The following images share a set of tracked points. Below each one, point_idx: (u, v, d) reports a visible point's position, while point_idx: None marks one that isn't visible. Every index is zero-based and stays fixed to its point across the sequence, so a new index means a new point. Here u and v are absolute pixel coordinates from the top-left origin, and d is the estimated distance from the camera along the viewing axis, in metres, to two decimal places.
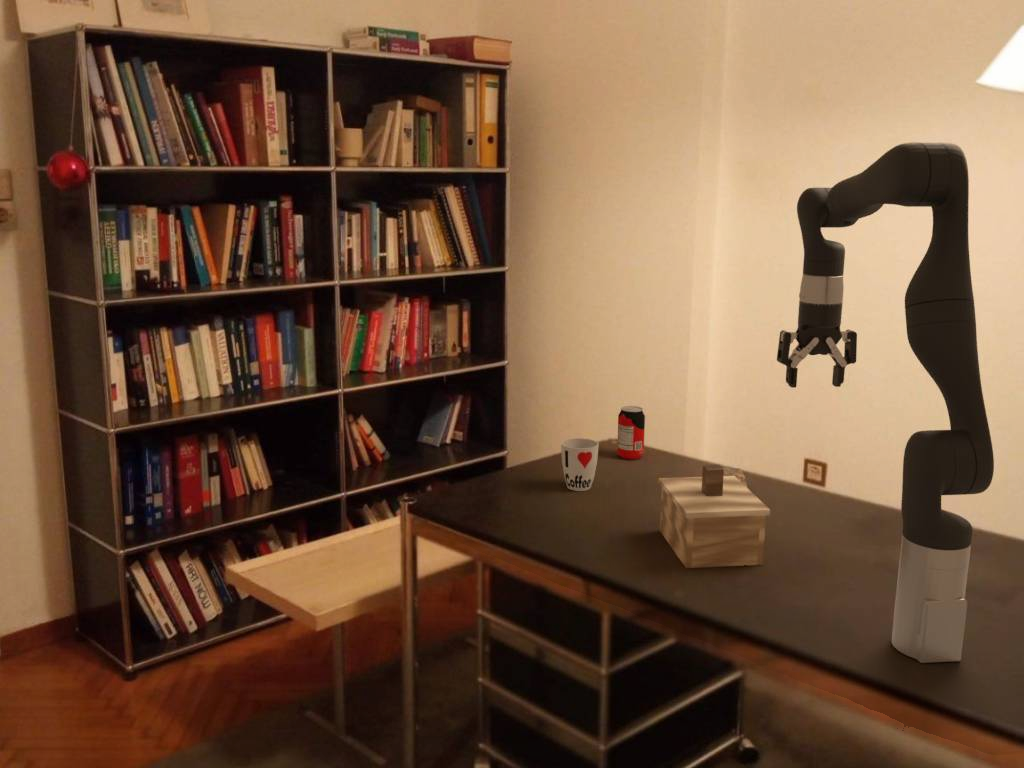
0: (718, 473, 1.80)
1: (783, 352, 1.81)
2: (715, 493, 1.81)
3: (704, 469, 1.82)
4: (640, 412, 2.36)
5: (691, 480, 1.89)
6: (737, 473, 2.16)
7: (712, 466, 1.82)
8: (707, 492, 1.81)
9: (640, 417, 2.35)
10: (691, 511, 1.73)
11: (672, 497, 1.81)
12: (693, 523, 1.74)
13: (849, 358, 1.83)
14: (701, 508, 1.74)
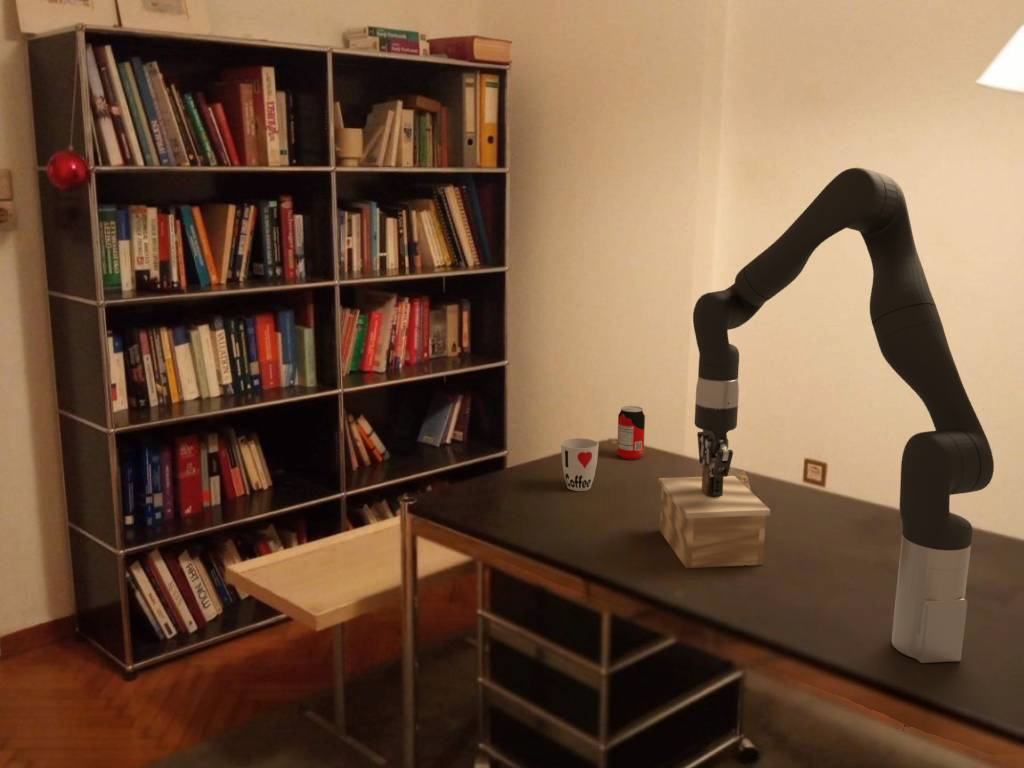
0: None
1: (728, 468, 1.76)
2: None
3: (704, 469, 1.82)
4: (640, 412, 2.36)
5: (691, 480, 1.89)
6: (740, 474, 2.15)
7: None
8: (707, 492, 1.81)
9: (640, 417, 2.35)
10: (691, 511, 1.73)
11: (672, 497, 1.81)
12: (693, 523, 1.74)
13: None
14: (701, 508, 1.74)
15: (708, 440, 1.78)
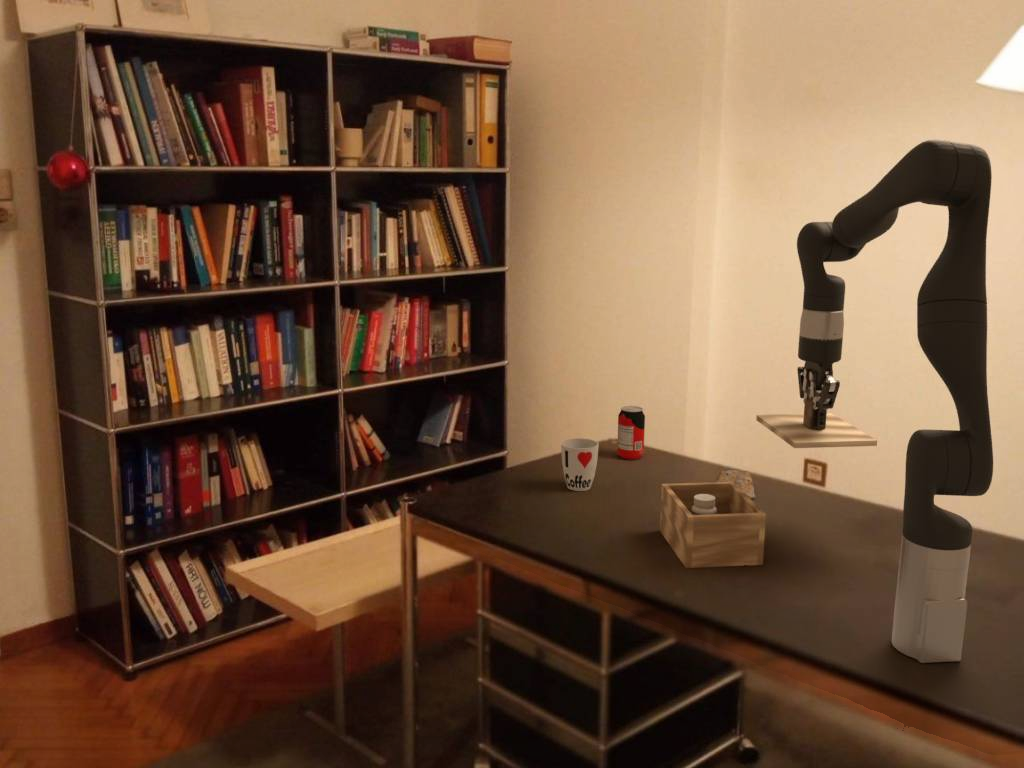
0: None
1: (834, 399, 1.77)
2: None
3: (807, 403, 1.82)
4: (640, 412, 2.36)
5: (789, 417, 1.90)
6: (744, 476, 2.14)
7: None
8: (810, 426, 1.81)
9: (640, 417, 2.35)
10: (798, 441, 1.73)
11: (775, 430, 1.82)
12: (693, 523, 1.74)
13: None
14: (808, 439, 1.75)
15: (813, 373, 1.79)
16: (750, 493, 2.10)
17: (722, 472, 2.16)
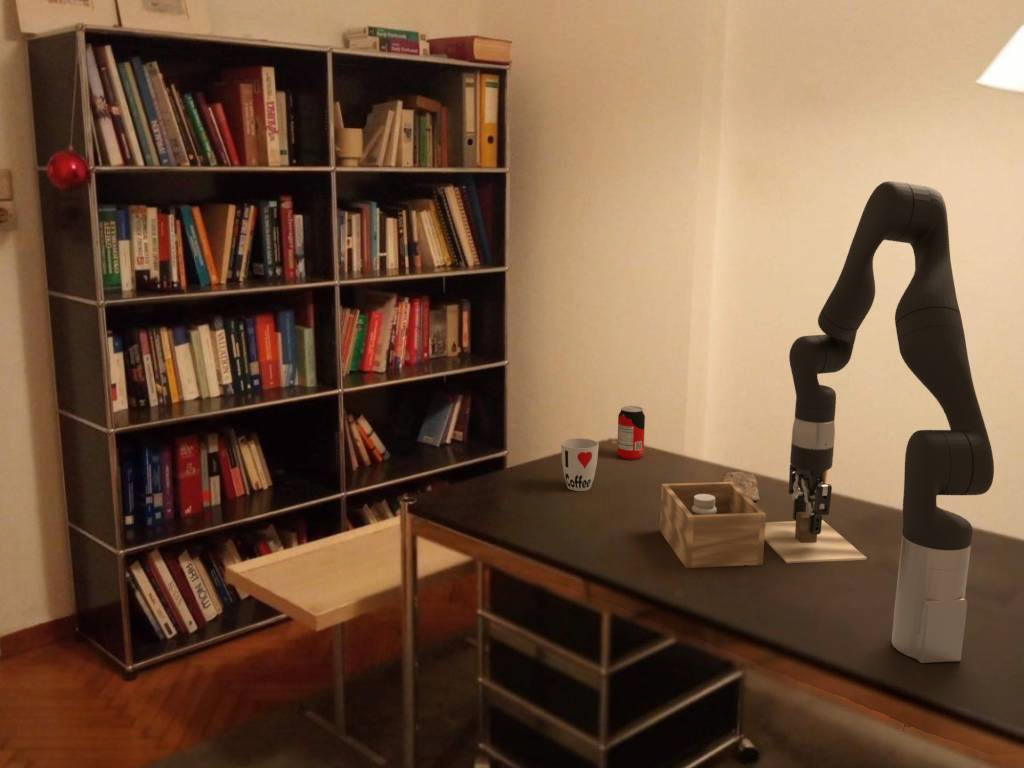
0: None
1: (829, 504, 1.80)
2: (810, 539, 1.86)
3: (798, 516, 1.87)
4: (640, 412, 2.36)
5: (782, 525, 1.95)
6: (749, 478, 2.13)
7: (806, 513, 1.87)
8: (802, 539, 1.86)
9: (640, 417, 2.35)
10: (790, 559, 1.78)
11: None
12: (693, 523, 1.74)
13: None
14: (799, 556, 1.80)
15: (805, 479, 1.83)
16: (754, 495, 2.08)
17: (727, 474, 2.15)
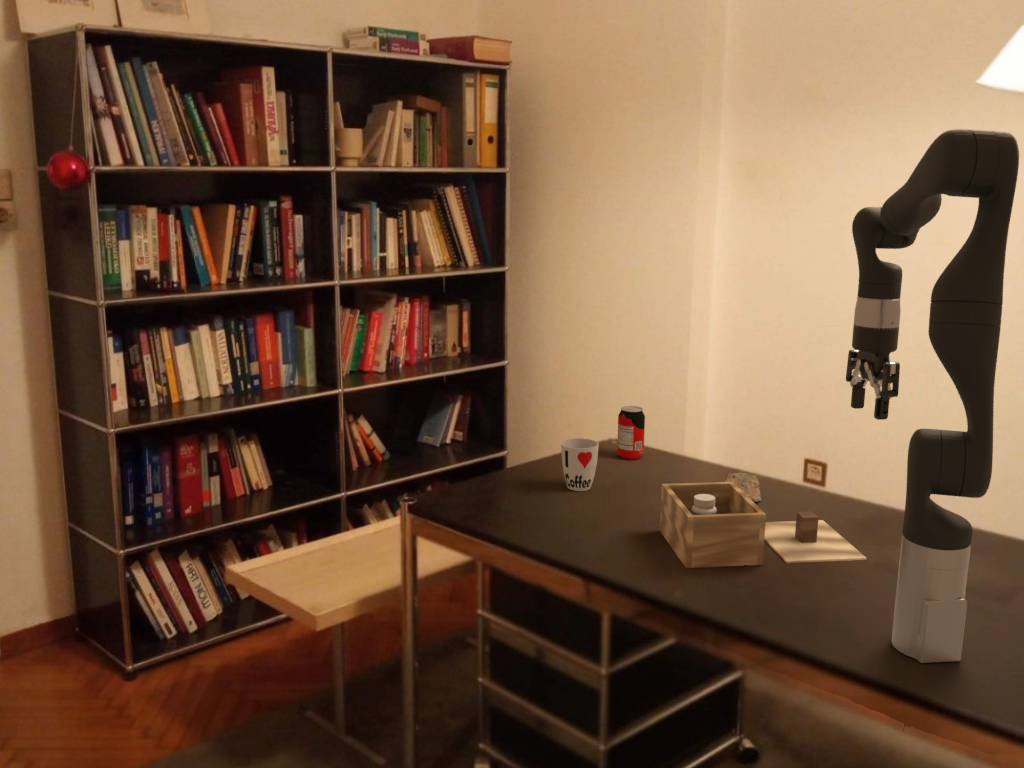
0: (812, 521, 1.85)
1: None
2: (810, 539, 1.86)
3: (798, 516, 1.87)
4: (640, 412, 2.36)
5: (782, 525, 1.95)
6: (751, 479, 2.13)
7: (806, 513, 1.87)
8: (802, 539, 1.86)
9: (640, 417, 2.35)
10: (790, 559, 1.78)
11: None
12: (693, 523, 1.74)
13: None
14: (799, 556, 1.80)
15: (868, 362, 1.74)
16: (756, 496, 2.08)
17: (729, 474, 2.15)
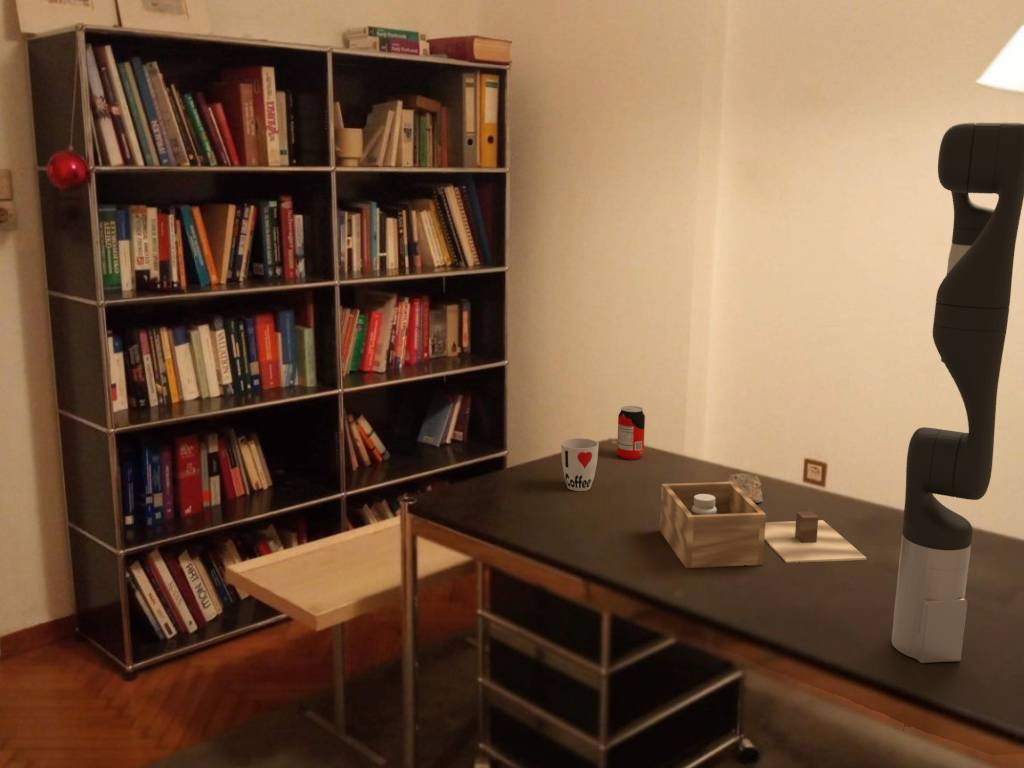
0: (812, 521, 1.85)
1: None
2: (810, 539, 1.86)
3: (798, 516, 1.87)
4: (640, 412, 2.36)
5: (782, 525, 1.95)
6: (753, 479, 2.12)
7: (806, 513, 1.87)
8: (802, 539, 1.86)
9: (640, 417, 2.35)
10: (790, 559, 1.78)
11: None
12: (693, 523, 1.74)
13: None
14: (799, 556, 1.80)
15: None
16: (757, 497, 2.07)
17: (731, 475, 2.14)
